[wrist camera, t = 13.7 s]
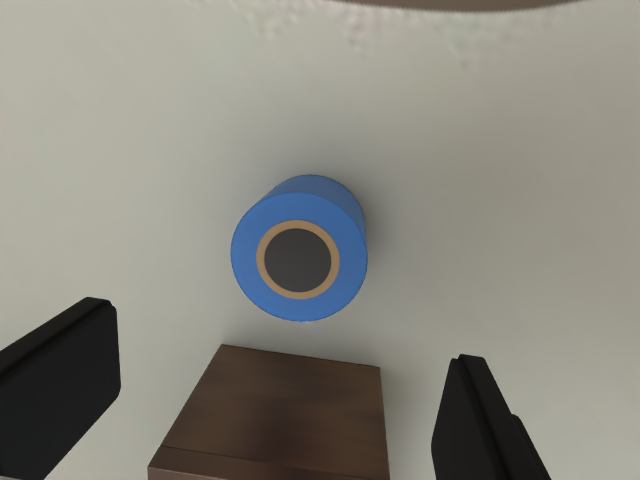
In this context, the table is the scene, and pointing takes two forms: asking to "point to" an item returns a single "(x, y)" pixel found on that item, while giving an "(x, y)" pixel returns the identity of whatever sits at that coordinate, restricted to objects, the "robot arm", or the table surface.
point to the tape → (301, 249)
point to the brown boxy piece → (277, 421)
